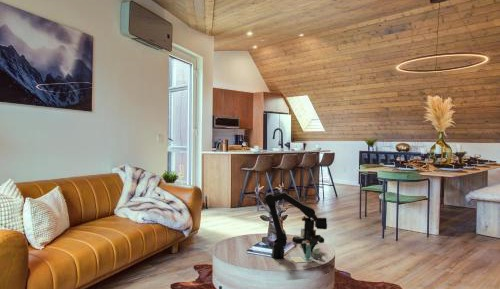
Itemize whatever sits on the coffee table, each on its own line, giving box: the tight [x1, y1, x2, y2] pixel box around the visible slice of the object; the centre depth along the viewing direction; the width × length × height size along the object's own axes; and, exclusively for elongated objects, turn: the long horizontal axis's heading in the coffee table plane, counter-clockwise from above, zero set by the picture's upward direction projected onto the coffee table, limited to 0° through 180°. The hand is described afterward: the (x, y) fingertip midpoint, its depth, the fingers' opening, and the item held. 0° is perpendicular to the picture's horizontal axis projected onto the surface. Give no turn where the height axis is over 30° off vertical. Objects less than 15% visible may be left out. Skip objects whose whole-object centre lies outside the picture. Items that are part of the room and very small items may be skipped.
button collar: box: [311, 251, 323, 260], centre depth 221 cm, size 5×5×2 cm
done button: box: [313, 246, 321, 255], centre depth 221 cm, size 4×4×4 cm
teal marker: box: [304, 244, 312, 258], centre depth 217 cm, size 4×4×8 cm
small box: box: [299, 227, 317, 249], centre depth 239 cm, size 8×6×13 cm
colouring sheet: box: [289, 256, 316, 264], centre depth 216 cm, size 13×8×1 cm, turn 107°
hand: (307, 253), depth 217 cm, fingers closed on teal marker, 3 cm apart
